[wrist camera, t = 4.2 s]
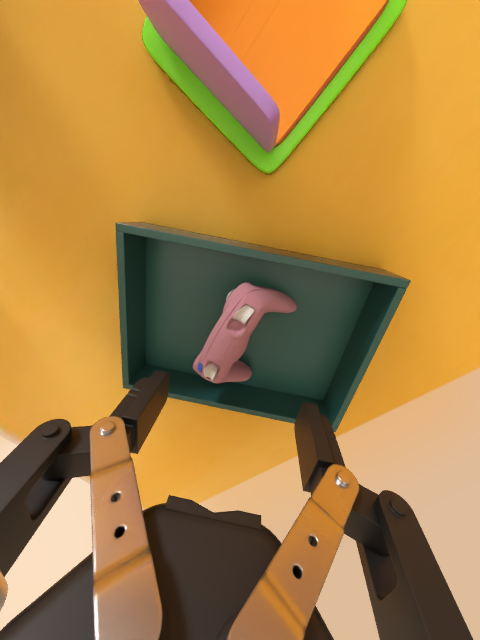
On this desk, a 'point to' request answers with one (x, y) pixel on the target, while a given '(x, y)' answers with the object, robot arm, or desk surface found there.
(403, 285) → the tray
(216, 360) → the video game controller
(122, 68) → the desk surface
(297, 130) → the dollhouse room
